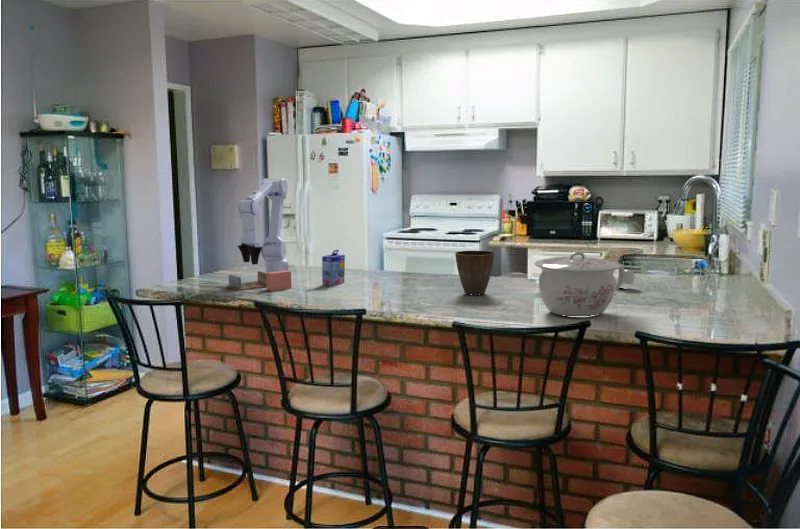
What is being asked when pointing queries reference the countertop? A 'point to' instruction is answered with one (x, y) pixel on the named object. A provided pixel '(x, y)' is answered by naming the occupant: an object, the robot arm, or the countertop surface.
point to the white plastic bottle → (628, 276)
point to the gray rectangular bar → (235, 281)
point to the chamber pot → (578, 284)
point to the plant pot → (474, 270)
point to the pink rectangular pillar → (278, 280)
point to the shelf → (261, 282)
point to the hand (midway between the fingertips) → (250, 263)
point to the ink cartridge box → (333, 269)
